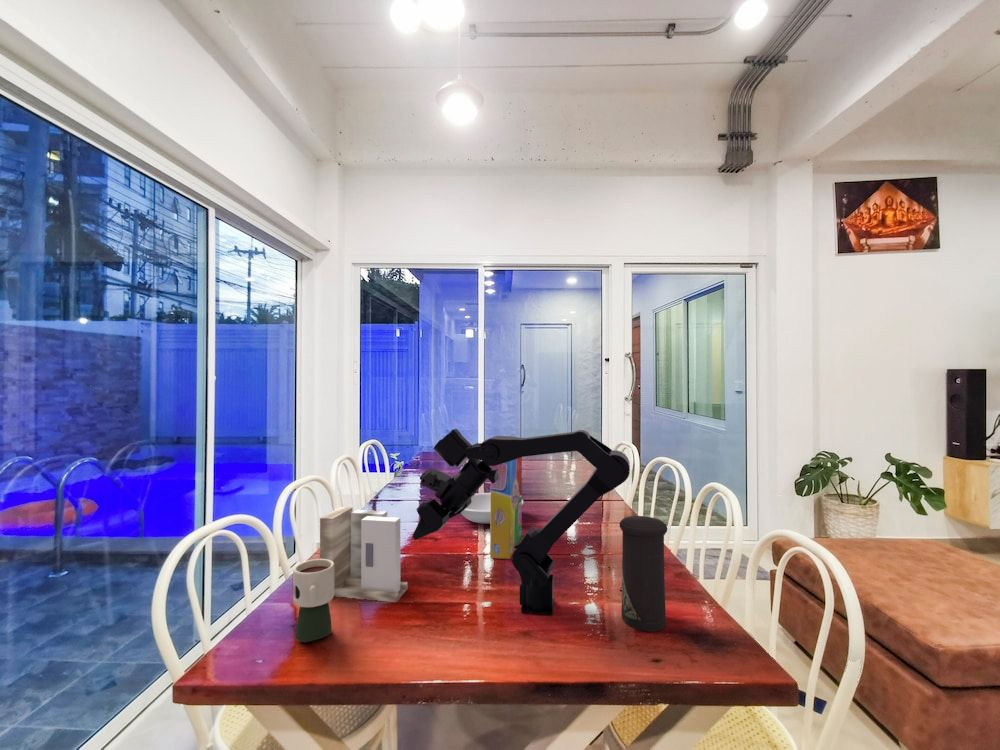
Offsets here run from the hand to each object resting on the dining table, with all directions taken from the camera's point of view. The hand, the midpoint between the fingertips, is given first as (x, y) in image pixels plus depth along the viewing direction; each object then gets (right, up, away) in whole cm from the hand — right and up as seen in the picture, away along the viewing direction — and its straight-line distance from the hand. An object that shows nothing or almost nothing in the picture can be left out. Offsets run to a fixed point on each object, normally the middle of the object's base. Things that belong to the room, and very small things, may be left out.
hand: (423, 531), depth 103 cm
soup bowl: (+13, -14, +52) cm, 55 cm away
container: (+46, -13, -13) cm, 49 cm away
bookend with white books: (-13, -14, +1) cm, 19 cm away
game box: (+19, -14, +28) cm, 37 cm away
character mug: (-17, -14, -18) cm, 28 cm away
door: (-9, -14, -1) cm, 16 cm away
